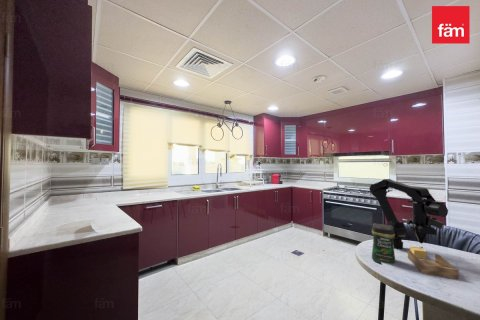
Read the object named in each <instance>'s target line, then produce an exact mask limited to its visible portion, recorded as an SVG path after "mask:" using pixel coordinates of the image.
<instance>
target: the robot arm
mask: <svg viewBox="0 0 480 320" xmlns="http://www.w3.org/2000/svg"><path fill="white" fill-rule="evenodd" d="M390 188H391V189H393V190H396V191H399V192H402V193H404V194H406V196H408V197H410V199H408V200H407V202H408V203H412V212H411V213H410V215H411V216H412V218H407V219H406V224H407V225H409V226H410V225H412V226H411V227H410V229H411V230H412V231H413V233H414V236H415V237H416V238H417V241H418V243H419V244H423V243H424V242H425V241H424V240H425V239H426V236H427V235H431V236H432V235H433V236H435V235H436V236H437V235H438V230H437V229H439V230H443V229H442V228H443V227H444V225H445V223H443V222H442V221H439V220H437V218H436V217H439V218H440V217H441V218H445V217H447V215H449V214H448V213H449V209H448V207H447V205H445V202H442V201H436V199H435V198H434V196H432V194H431V193H430V191H429V189H428V188H427V187H420V186H414V185H413V186H412V185H408V184H405V183H402V182H399V181H396V180H393V179H391V178H384V179H382V180H380V181H377V182H375V183H372V184H371V185H370V186H369V188H368V189H369V192H370V193H371V194H372V196H373V197H374V198H376V200H377V201H378V203H379V206H380V208H381V210H382V212H383V215H384V217H385V219H386V222H387V223H386V225H390V226H393V228H394V232H395V237H394V239H393V245H394V250H395V249H397V250H400V249H402V250H403V249H404V242H403V240H404V239H405V237H406V236H407V234H408V231H407V230H408V228H407V227H406V226H405V222H403V221H402V222H400V221H399V220H398V218H397V216H396V214H395V212H394V210H393V208H392V206H391V204H390V202H389V200H388V198H387V192H388V189H390ZM430 215H431V216H430ZM434 216H436V217H434ZM434 227H435V228H437V229H435V228H434Z"/></svg>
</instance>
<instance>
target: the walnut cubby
mask: <svg viewBox="0 0 480 320" xmlns="http://www.w3.org/2000/svg"><path fill="white" fill-rule="evenodd" d="M434 256H435V257H434V258H435V259H434V260H429V259H428V260H427V259H422V258H417V257H416V256H415V255H414V254H413V253H412V252H411V251H410V250H407V258H408V260H409V261H410V262H411V263H412V264H413V265H414V266H415V267H416V268H417V270H418V271H419V272H420V273H421V274H426V275H430V276H431V275H432V276H436V277H437V276H438V277H443V278H449V279H454V280H456V279H457V280H459V276H460V275H459V270H458V269H457V268H456V267H455V266H453V264H452V263H450V262H448V261H447V259H445V258H443V256H442V255H440V254H437V253H435V254H434Z"/></svg>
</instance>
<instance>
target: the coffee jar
mask: <svg viewBox="0 0 480 320" xmlns="http://www.w3.org/2000/svg"><path fill="white" fill-rule="evenodd" d="M371 234H372V239H373V240H372V250H371V260H373V262H376V263H379V264H382V263H386V264H389V265H390V264H392V265H393V264H396V254H395V248H394V245H393V239H394V237H395V232H394V228H393V226H390V225H387V224H383V223H375V222H373V223H372V227H371Z"/></svg>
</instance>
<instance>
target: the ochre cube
mask: <svg viewBox="0 0 480 320" xmlns="http://www.w3.org/2000/svg"><path fill="white" fill-rule="evenodd" d="M409 251H411V252H412V253H413V254H414V255H415V256H416V257H417V258H418V259H422V260H427V259H428V258H427V251H426V250H425V249H424V248H423V247H420V246H419V247H418V246H409Z"/></svg>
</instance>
